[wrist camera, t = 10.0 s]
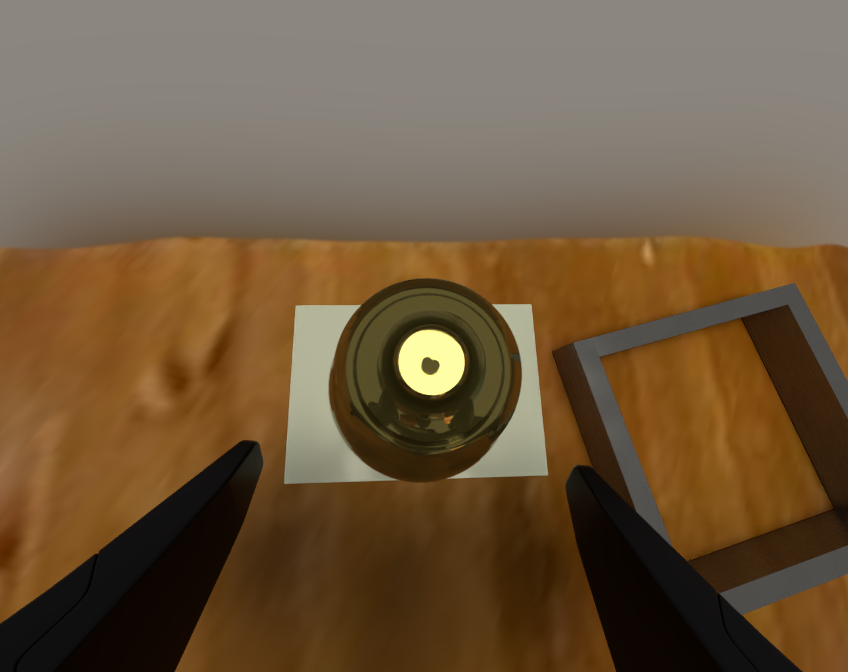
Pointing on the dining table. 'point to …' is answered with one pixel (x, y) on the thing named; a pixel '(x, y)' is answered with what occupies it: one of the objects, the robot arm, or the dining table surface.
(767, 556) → the grey square frame
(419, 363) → the brass rounded piece
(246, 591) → the dining table surface
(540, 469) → the tile
